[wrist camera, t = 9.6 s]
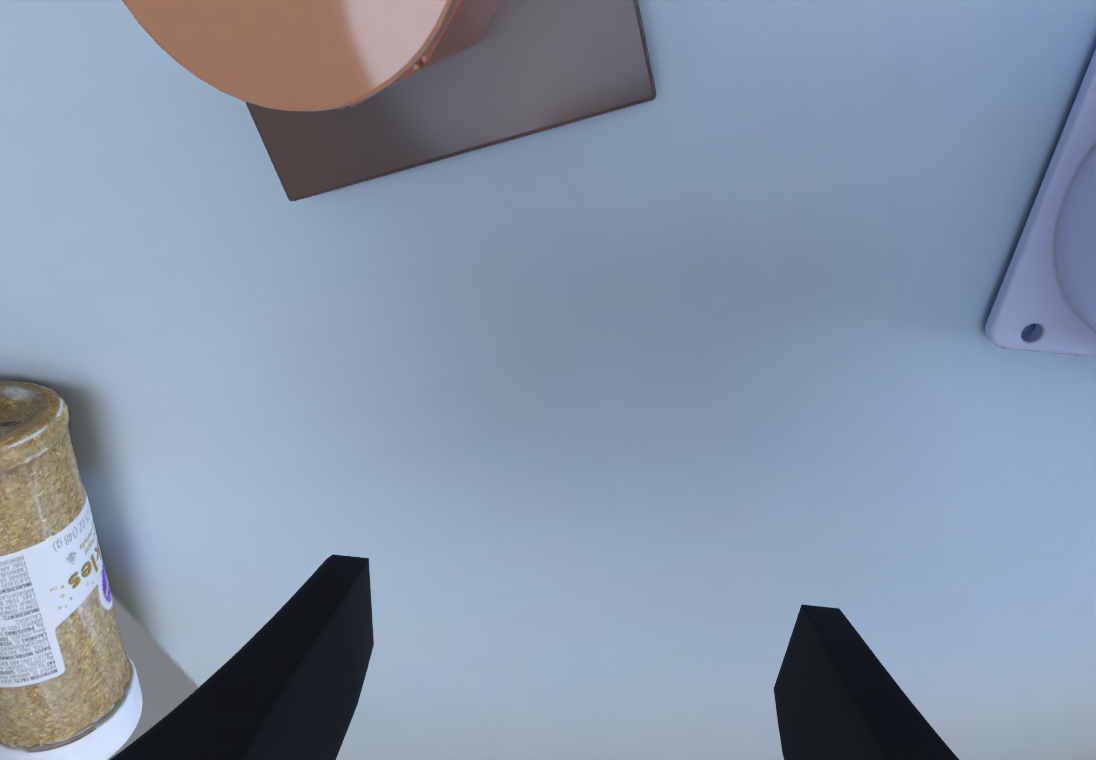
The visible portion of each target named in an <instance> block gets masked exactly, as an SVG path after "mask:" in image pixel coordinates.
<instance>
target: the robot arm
mask: <svg viewBox="0 0 1096 760" xmlns="http://www.w3.org/2000/svg"><path fill="white" fill-rule="evenodd" d="M1030 324H1035V328H1034V330H1033V331H1032V332H1031V333H1029V334H1028V335H1024V336H1021V332H1022V331H1023V329H1024V328H1025V327H1027V326H1028V325H1030ZM985 332H986V336H987V337H988V338H989V339H990V340H991V341H992V342H993V343H994V344H995V345H997V346H999V347H1002V348H1009V349H1020V350H1030V351H1040V352H1051V353H1061V354H1071V355H1082V356H1092V357H1096V49H1095V51H1094V54H1093V56H1092V59H1091V62H1090V64H1089V67H1088V69H1087V72H1086V74H1085V77H1084V79H1083V82H1082V84H1081V87H1080V89H1079V92H1078V94H1077V97H1076V99H1075V102H1074V104H1073V107H1072V109H1071V112H1070V114H1069V117H1068V119H1067V122H1066V124H1065V127H1064V129H1063V132H1062V134H1061V137H1060V139H1059V142H1058V144H1057V147H1056V149H1055V152H1054V154H1053V157H1052V159H1051V162H1050V164H1049V167H1048V169H1047V172H1046V174H1045V177H1044V179H1043V182H1042V184H1041V187H1040V190H1039V192H1038V195H1037V197H1036V200H1035V202H1034V205H1033V207H1032V210H1031V212H1030V215H1029V217H1028V220H1027V222H1026V225H1025V227H1024V230H1023V232H1022V235H1021V237H1020V240H1019V242H1018V245H1017V247H1016V250H1015V252H1014V255H1013V257H1012V260H1011V262H1010V265H1009V267H1008V270H1007V272H1006V275H1005V277H1004V280H1003V282H1002V285H1001V287H1000V290H999V292H998V295H997V297H996V300H995V302H994V305H993V307H992V310H991V313H990V315H989V318H988V320H987V323H986V327H985ZM373 645H374V642H373V625H372V608H371V591H370V574H369V558H360V557H350V556H341V555H332V556H330V557H329V558H327V559H326V560H325V561H324V562H323V564H322V565H321V566H320V567H319V568H318V569H317V570H316V571H315V572H314V574H313V575H312V576H311V577H310V578H309V579H308V580H307V581H306V582H305V584H304V585H303V586H302V587H301V588H300V589H299V590H298V591H297V592H296V593H295V594H294V595H293V596H292V598H291V599H290V600H289V601H288V602H287V603H286V604H285V605H284V606H283V607H282V608H281V609H280V610H279V611H278V612H277V613H276V614H275V615H274V616H273V617H272V618H271V619H270V620H269V621H268V622H267V623H266V624H265V625H264V626H263V627H262V628H261V629H260V630H259V631H258V632H257V633H256V634H255V635H254V636H253V637H252V638H251V639H250V640H249V641H248V642H247V643H246V644H245V645H244V646H243V647H242V648H241V649H240V650H239V651H238V652H237V653H236V654H235V655H234V656H233V657H232V658H231V659H230V660H229V661H228V662H227V663H225V664H224V665H223V666H222V667H221V668H220V669H219V670H218V671H217V672H216V673H214V674H213V675H212V676H211V677H210V678H209V679H208V680H207V681H206V682H205V683H203V684H202V685H201V686H200V687H199V688H198V689H197V690H196V691H195V692H194V693H193V694H191V695H190V696H189V697H188V698H187V699H186V700H184V701H183V702H182V703H181V704H180V705H179V706H177V707H176V708H175V709H174V710H173V711H171V712H170V713H169V714H168V715H167V716H166V717H164V718H163V719H162V720H161V721H159V722H158V723H157V724H156V725H154V726H153V727H152V728H151V729H149V730H148V731H147V732H146V733H144V734H143V735H142V736H140V737H139V738H138V739H137V740H136V741H134V742H133V743H132V744H130V745H129V746H128V747H126V748H125V749H124V750H123V751H121V752H120V753H118V754H117V755H116V756H114V757H113V758H112V759H110V760H336V757H337V755H338V752H339V750H340V747H341V745H342V742H343V740H344V737H345V735H346V732H347V730H348V727H349V724H350V722H351V719H352V717H353V714H354V712H355V709H356V706H357V704H358V700H359V697H360V693H361V690H362V686H363V683H364V679H365V675H366V672H367V668H368V664H369V660H370V657H371V653H372V649H373ZM774 694H775V702H776V710H777V718H778V725H779V732H780V739H781V745H782V752H783V756H784V760H959V759H958V758H957V757H956V756H955V754H954V753H953V752H952V751H951V750H950V749H949V747H948V746H947V745H946V744H945V743H944V742H943V740H942V739H941V738H940V737H939V736H938V734H937V733H936V732H935V731H934V729H933V728H932V727H931V726H930V724H929V723H928V722H927V721H926V720H925V718H924V717H923V716H922V715H921V713H920V712H919V711H918V710H917V709H916V707H915V706H914V705H913V704H912V702H911V701H910V700H909V699H908V697H907V696H906V695H905V694H904V692H903V691H902V690H901V689H900V687H899V686H898V685H897V683H896V682H895V681H894V680H893V678H892V677H891V676H890V674H889V673H888V672H887V670H886V669H885V668H884V667H883V665H882V664H881V663H880V661H879V660H878V659H877V657H876V656H875V655H874V653H873V652H872V651H871V650H870V648H869V647H868V646H867V644H866V643H865V642H864V640H863V639H862V638H861V636H860V635H859V634H858V632H857V631H856V630H855V628H854V627H853V626H852V625H851V623H850V622H849V621H848V619H847V618H846V617H845V615H844V614H843V613H842V612H841V610H840V609H838V608H829V607H819V606H810V605H801V608H800V611H799V614H798V617H797V620H796V623H795V626H794V629H793V632H792V636H791V639H790V642H789V645H788V648H787V651H786V654H785V657H784V660H783V663H782V666H781V669H780V672H779V675H778V678H777V681H776V684H775V687H774Z"/></svg>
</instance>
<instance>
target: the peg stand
mask: <svg viewBox="0 0 1096 760" xmlns="http://www.w3.org/2000/svg"><path fill="white" fill-rule="evenodd" d="M655 98H656V90H655V85H654V80H653V75H652V70H651V65H650V60H649V55H648V50H647V45H646V40H645V35H644V30H643V25H642V20H641V15H640V10H639V5H638V0H504V1H503V2H502V4H501V6H500V7H499V9H498V11H497V13H496V14H495V16H494V18H493V20H492V21H491V23H490V25H489V27H488V28H487V30H486V32H485V34H484V35H483V37H482V39H481V40H479V41H477V44H476V45H474V46H472V47H470V48H468V49H466V50H465V51H463V52H461V53H459V54H457V55H455V56H454V57H452V58H450V59H448V60H446V61H444V62H442V63H441V64H439V65H437V66H435V67H433V68H431V69H430V70H428V71H426V72H424V73H422V74H420V75H418V76H415V77H413V78H411V79H409V80H407V81H405V82H403V83H401V84H399V85H397V86H395V87H393V88H391V89H389V90H387V91H385V92H383V93H381V94H379V95H376V96H374V97H372V98H370V99H368V100H366V101H364V102H362V103H360V104H358V105H356V106H354V107H347V108H344V109H331V110H323V111H315V112H294V111H284V110H277V109H271V108H266V107H262V106H259V105H256V104H252V103H249V102H246V105H247V107H248V109H249V111H250V114H251V116H252V118H253V120H254V123H255V125H256V127H257V129H258V132H259V134H260V136H261V138H262V141H263V143H264V145H265V147H266V150H267V152H268V154H269V156H270V159H271V161H272V163H273V165H274V168H275V170H276V172H277V174H278V177H279V179H280V181H281V183H282V186H283V188H284V190H285V192H286V195H287V197H288V199H289V200H290V201H297V200H300V199H304V198H308V197H311V196H315V195H318V194H322V193H325V192H329V191H332V190H336V189H339V188H343V187H346V186H350V185H354V184H357V183H361V182H364V181H368V180H371V179H375V178H378V177H382V176H385V175H389V174H392V173H396V172H400V171H403V170H407V169H410V168H414V167H417V166H421V165H424V164H428V163H431V162H435V161H438V160H442V159H446V158H449V157H453V156H456V155H460V154H463V153H467V152H470V151H474V150H477V149H481V148H485V147H488V146H492V145H495V144H499V143H502V142H506V141H509V140H513V139H516V138H520V137H523V136H527V135H531V134H534V133H538V132H541V131H545V130H548V129H552V128H555V127H559V126H562V125H566V124H569V123H573V122H577V121H580V120H584V119H587V118H591V117H594V116H598V115H601V114H605V113H608V112H612V111H616V110H619V109H623V108H626V107H630V106H633V105H637V104H640V103H644V102H647V101H651V100H653V99H655Z"/></svg>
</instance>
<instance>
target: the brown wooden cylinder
mask: <svg viewBox="0 0 1096 760" xmlns="http://www.w3.org/2000/svg"><path fill="white" fill-rule="evenodd" d="M122 1H123V2H124V4H125V5H126V6H127V8H128V9H129V10H130V12H131V13H132V15H133V16H134V17H135V19H136V20H137V21H138V23H139V24H140V25H141V26H142V27H143V28H144V29H145V31H146V32H147V33H148V34H149V35H150V36H151V37H152V38H153V40H154V41H155V42H156V43H157V44H158V45H159V46H160V47H161V48H162V49H164V50H165V51H166V52H167V53H168V54H169V55H170V56H171V57H172V58H173V59H174V60H176V61H177V62H178V63H179V64H181V65H182V66H183V67H185V68H186V69H187V70H189V71H190V72H191V73H193V74H194V75H195V76H197V77H198V78H200V79H201V80H203V81H205V82H206V83H208V84H210V85H212V86H213V87H215V88H217V89H218V90H220V91H222V92H224V93H227V94H229V95H231V96H233V97H236V98H238V99H240V100H243V101H245V102H249V103H252V104H256V105H259V106H262V107H266V108H271V109H277V110H284V111H294V112H315V111H323V110H331V109H344V108H347V107H354V106H356V105H358V104H360V103H362V102H364V101H366V100H368V99H370V98H372V97H374V96H376V95H379V94H381V93H383V92H385V91H387V90H389V89H391V88H393V87H395V86H397V85H399V84H401V83H403V82H405V81H407V80H409V79H411V78H413V77H415V76H418V75H420V74H422V73H424V72H426V71H428V70H430V69H431V68H433V67H435V66H437V65H439V64H441V63H442V62H444V61H446V60H448V59H450V58H452V57H454V56H455V55H457V54H459V53H461V52H463V51H465V50H466V49H468V48H470V47H472V46H474V45H476V44H477V41H479V40H481V39H482V37H483V35H484V34H485V32H486V30H487V28H488V27H489V25H490V23H491V21H492V20H493V18H494V16H495V14H496V13H497V11H498V9H499V7H500V6H501V4H502V2H503V1H504V0H122Z"/></svg>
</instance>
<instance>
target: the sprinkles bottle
mask: <svg viewBox="0 0 1096 760" xmlns="http://www.w3.org/2000/svg"><path fill="white" fill-rule="evenodd" d="M68 411H69V410H68V406H67V404H66V403H65V402H64V400H63V398H62V397H61V396H59V395H58V394H57V393H56V392H55V391H54V390H52V389H49V388H48V387H45V386H42V385H37V384H34V383H31V382H21V381H7V380H0V760H107V759H108V758H109V757H111V756H112V755H113V754H114V753H115V752H117V751H118V750H119V749H120V748H121V747H122V745H123V744H124V743H125V742H126V741H127V740H128V738H129V737H130V735H131V734H132V732H133V731H134V729H135V727H136V726H137V724H138V721H139V718H140V716H141V711H142V703H143V701H142V694H141V690H140V684H139V680H138V676H137V672H136V669H135V666H134V663H133V662H132V660H131V659H130V657H128V656H127V655H126V652H124V649H123V644H122V642H121V639H120V633H119V630H118V625H117V621H116V618H115V613H114V610H113V606H112V603H113V600H112V594H111V590H110V586H109V583H108V579H107V575H106V571H105V568H104V563H103V559H102V555H101V551H100V547H99V543H98V539H97V534H96V530H95V525H94V521H93V517H92V513H91V508H90V504H89V501H88V497H87V493H86V490H85V488H84V486H83V485H82V484H81V477H80V473H79V469H78V465H77V461H76V457H75V454H74V451H73V446H72V443H71V437H70V433H69V428H68V422H69V415H68Z"/></svg>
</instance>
